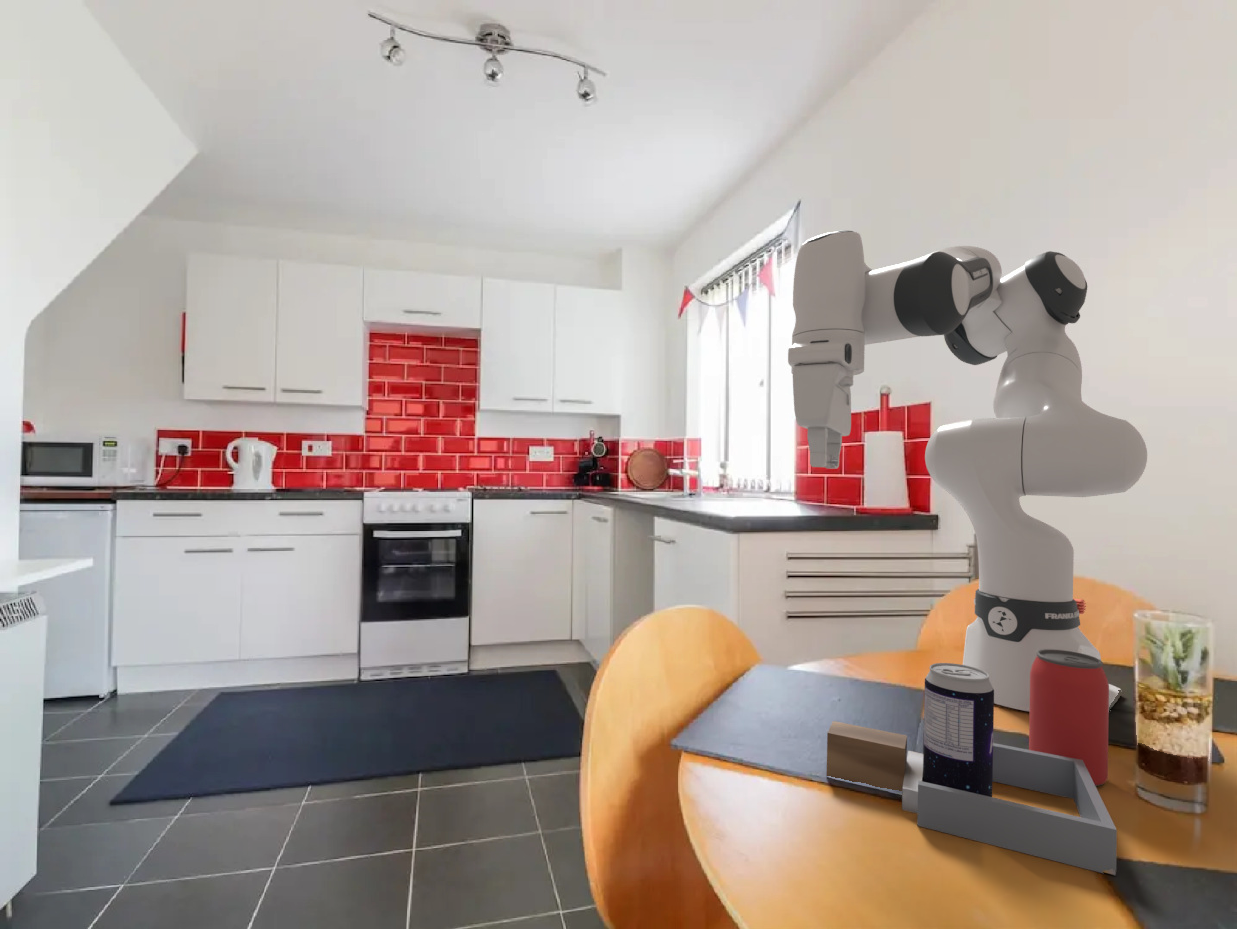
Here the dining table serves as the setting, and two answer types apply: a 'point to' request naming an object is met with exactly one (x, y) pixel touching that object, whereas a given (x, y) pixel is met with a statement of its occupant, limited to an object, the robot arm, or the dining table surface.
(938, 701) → the beverage can
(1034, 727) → the beer can
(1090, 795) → the box
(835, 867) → the dining table surface
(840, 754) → the brown block
